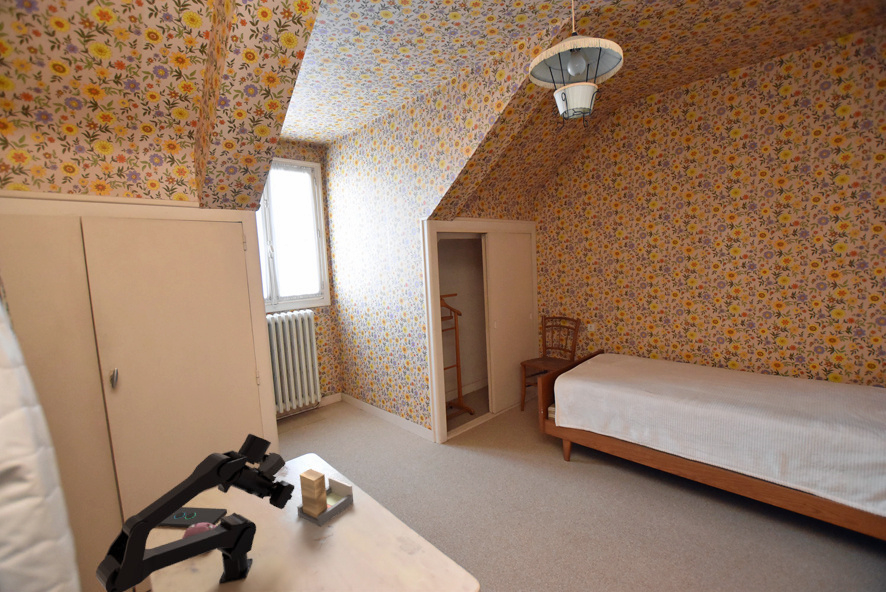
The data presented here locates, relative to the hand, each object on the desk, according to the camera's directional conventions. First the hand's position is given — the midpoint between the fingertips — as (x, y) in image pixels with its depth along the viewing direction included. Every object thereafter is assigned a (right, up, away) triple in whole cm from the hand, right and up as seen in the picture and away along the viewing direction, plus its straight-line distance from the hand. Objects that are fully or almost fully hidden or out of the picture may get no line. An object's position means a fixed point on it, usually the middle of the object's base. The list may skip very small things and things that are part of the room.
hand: (287, 495), depth 115 cm
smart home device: (-35, -14, +11) cm, 39 cm away
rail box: (+8, -11, +12) cm, 18 cm away
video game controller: (-25, -14, -2) cm, 29 cm away
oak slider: (+6, -10, +8) cm, 14 cm away
